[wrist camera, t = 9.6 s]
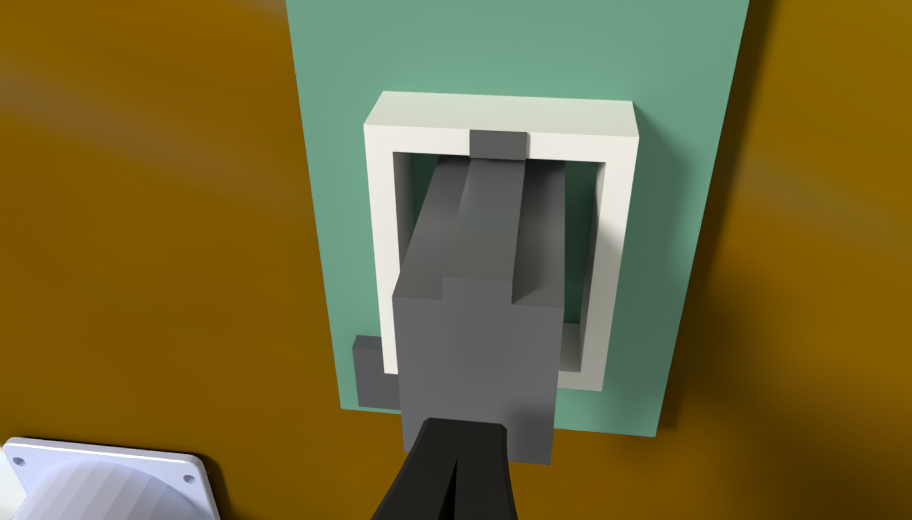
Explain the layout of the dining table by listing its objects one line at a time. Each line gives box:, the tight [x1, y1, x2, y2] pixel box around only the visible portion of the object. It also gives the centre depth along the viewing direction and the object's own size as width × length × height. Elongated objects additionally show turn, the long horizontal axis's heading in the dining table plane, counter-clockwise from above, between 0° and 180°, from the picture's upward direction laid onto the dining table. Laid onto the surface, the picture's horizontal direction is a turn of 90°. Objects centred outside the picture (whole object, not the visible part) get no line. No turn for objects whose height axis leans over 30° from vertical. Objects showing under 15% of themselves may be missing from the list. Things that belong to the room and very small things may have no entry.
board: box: [286, 0, 749, 437], centre depth 18 cm, size 14×10×3 cm
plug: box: [392, 154, 565, 465], centre depth 17 cm, size 8×3×6 cm, turn 1°
